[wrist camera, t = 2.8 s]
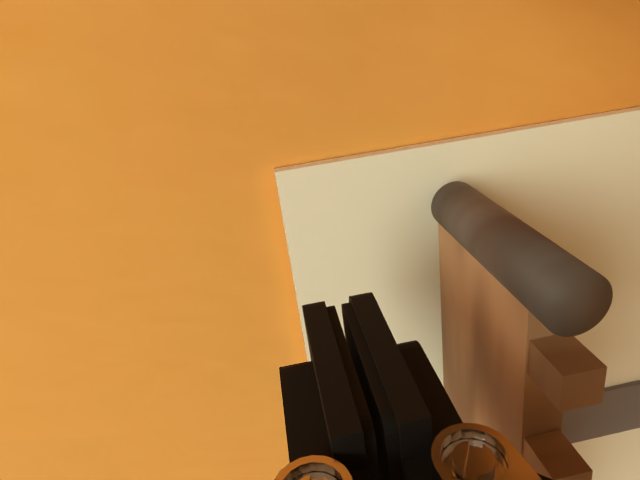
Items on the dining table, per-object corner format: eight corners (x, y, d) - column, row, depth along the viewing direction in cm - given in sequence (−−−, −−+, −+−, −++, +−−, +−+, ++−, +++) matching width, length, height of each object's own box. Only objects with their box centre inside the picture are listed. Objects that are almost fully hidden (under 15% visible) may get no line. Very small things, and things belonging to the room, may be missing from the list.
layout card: (645, 607, 27) (653, 619, 27) (363, 682, 26) (366, 697, 25) (771, 83, 16) (790, 86, 15) (274, 168, 14) (275, 173, 14)
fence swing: (476, 427, 18) (582, 605, 13) (439, 435, 18) (531, 618, 13) (476, 177, 14) (633, 275, 9) (430, 185, 14) (558, 290, 9)
